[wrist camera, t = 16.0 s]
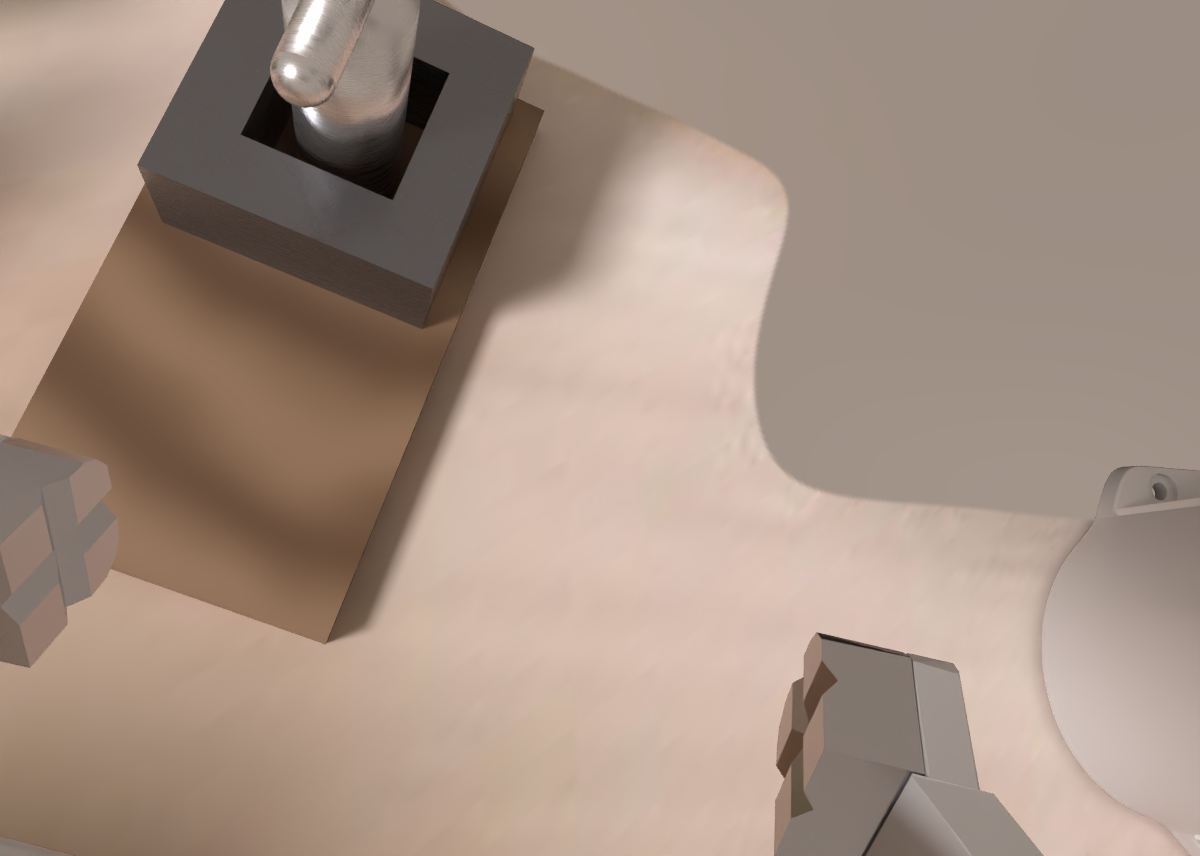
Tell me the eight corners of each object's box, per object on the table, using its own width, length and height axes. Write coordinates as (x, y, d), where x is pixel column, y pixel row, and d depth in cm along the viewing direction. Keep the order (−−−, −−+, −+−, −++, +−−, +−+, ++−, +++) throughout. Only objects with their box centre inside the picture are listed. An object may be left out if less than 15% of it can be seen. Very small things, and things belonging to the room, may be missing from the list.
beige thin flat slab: (256, -2, 43) (254, -23, 41) (537, 127, 45) (544, 110, 43) (-18, 522, 36) (-32, 518, 35) (325, 643, 38) (325, 644, 37)
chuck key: (341, 54, 41) (341, -204, 28) (433, 94, 42) (474, -140, 29) (258, 239, 39) (215, 52, 26) (356, 278, 40) (362, 115, 27)
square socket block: (275, 3, 41) (266, -78, 36) (512, 112, 43) (534, 48, 38) (162, 222, 38) (137, 164, 34) (421, 329, 40) (432, 289, 35)
